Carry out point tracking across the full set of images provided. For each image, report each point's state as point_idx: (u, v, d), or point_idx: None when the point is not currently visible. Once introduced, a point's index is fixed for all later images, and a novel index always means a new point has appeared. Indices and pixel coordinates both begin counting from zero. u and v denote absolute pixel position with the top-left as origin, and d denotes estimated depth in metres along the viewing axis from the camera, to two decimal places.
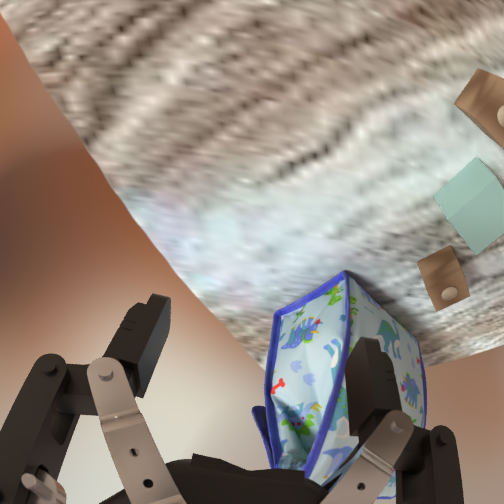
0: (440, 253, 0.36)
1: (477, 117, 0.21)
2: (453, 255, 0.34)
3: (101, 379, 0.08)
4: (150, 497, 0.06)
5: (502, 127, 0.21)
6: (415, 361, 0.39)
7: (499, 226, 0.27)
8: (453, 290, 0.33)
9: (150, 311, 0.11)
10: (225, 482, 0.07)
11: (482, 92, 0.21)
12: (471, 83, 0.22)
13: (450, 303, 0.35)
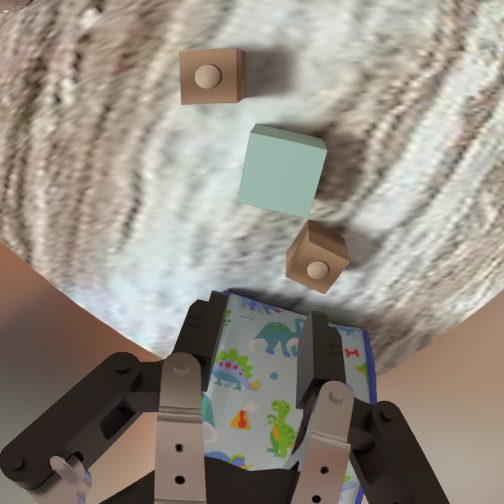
0: (300, 233, 0.37)
1: (182, 102, 0.26)
2: (306, 228, 0.35)
3: (179, 374, 0.09)
4: (175, 493, 0.06)
5: (212, 88, 0.26)
6: None
7: (306, 173, 0.29)
8: (318, 265, 0.34)
9: (214, 307, 0.12)
10: (225, 482, 0.07)
11: None
12: None
13: (332, 279, 0.35)
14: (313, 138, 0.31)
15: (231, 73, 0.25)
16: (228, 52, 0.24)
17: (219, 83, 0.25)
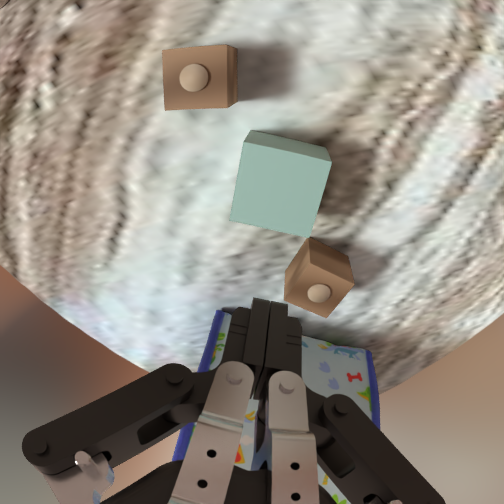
0: (300, 251, 0.34)
1: (165, 108, 0.23)
2: (307, 247, 0.32)
3: (234, 384, 0.09)
4: (193, 495, 0.06)
5: (200, 91, 0.22)
6: (342, 379, 0.34)
7: (307, 188, 0.26)
8: (319, 288, 0.30)
9: (257, 315, 0.12)
10: None
11: None
12: None
13: (335, 303, 0.31)
14: (315, 147, 0.27)
15: (220, 74, 0.21)
16: (218, 50, 0.20)
17: (207, 85, 0.22)
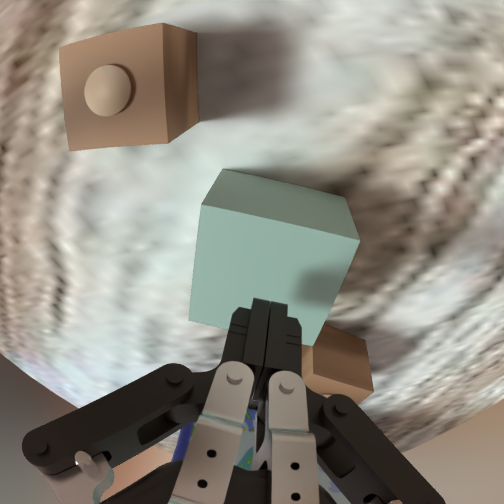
0: None
1: (70, 147, 0.13)
2: None
3: (234, 384, 0.09)
4: (193, 495, 0.06)
5: (119, 114, 0.12)
6: None
7: (315, 281, 0.15)
8: None
9: (258, 315, 0.12)
10: None
11: None
12: None
13: None
14: (329, 199, 0.17)
15: (153, 79, 0.11)
16: (146, 34, 0.10)
17: (130, 103, 0.11)
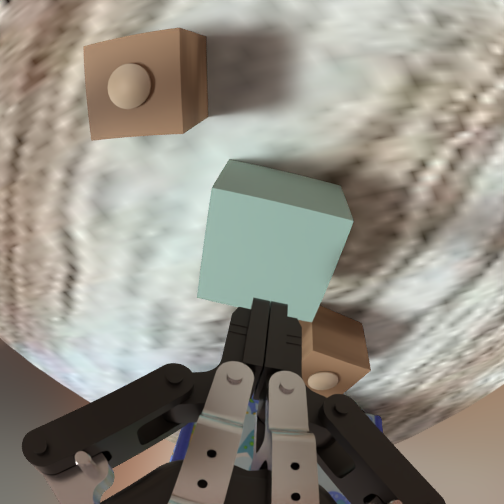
0: None
1: (92, 136, 0.14)
2: None
3: (234, 384, 0.09)
4: (193, 495, 0.06)
5: (139, 108, 0.13)
6: None
7: (313, 258, 0.17)
8: (324, 376, 0.22)
9: (258, 314, 0.12)
10: None
11: None
12: None
13: (343, 389, 0.23)
14: (326, 187, 0.19)
15: (170, 77, 0.12)
16: (165, 37, 0.11)
17: (150, 98, 0.13)
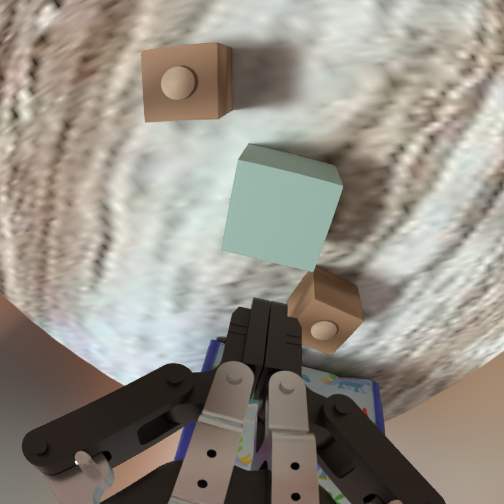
0: (303, 280, 0.30)
1: (146, 119, 0.19)
2: (312, 278, 0.28)
3: (234, 384, 0.09)
4: (193, 495, 0.06)
5: (185, 99, 0.18)
6: None
7: (313, 216, 0.22)
8: (324, 325, 0.26)
9: (257, 314, 0.12)
10: None
11: None
12: None
13: (341, 340, 0.27)
14: (323, 165, 0.24)
15: (210, 78, 0.18)
16: (206, 49, 0.17)
17: (194, 92, 0.18)
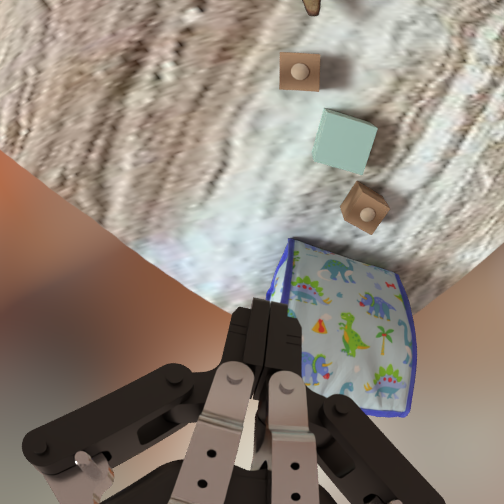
0: (351, 190, 0.48)
1: (280, 88, 0.37)
2: (358, 186, 0.46)
3: (234, 384, 0.09)
4: (193, 495, 0.06)
5: (303, 80, 0.36)
6: (383, 285, 0.48)
7: (363, 143, 0.40)
8: (368, 210, 0.44)
9: (258, 315, 0.12)
10: None
11: None
12: None
13: (377, 222, 0.45)
14: (364, 121, 0.41)
15: (316, 71, 0.35)
16: (314, 57, 0.34)
17: (307, 77, 0.36)
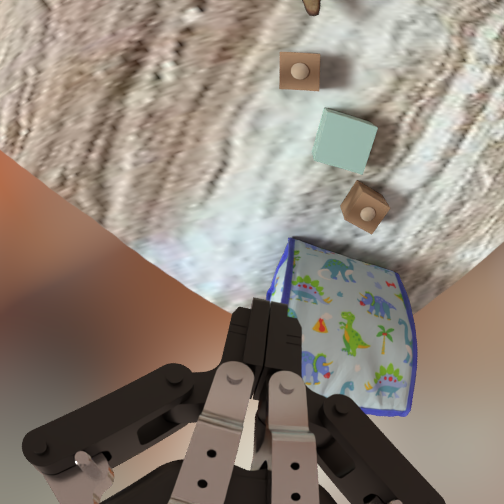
0: (351, 189, 0.48)
1: (280, 87, 0.37)
2: (358, 185, 0.46)
3: (234, 384, 0.09)
4: (193, 495, 0.06)
5: (303, 79, 0.36)
6: (383, 284, 0.48)
7: (363, 142, 0.40)
8: (368, 210, 0.44)
9: (258, 315, 0.12)
10: None
11: None
12: None
13: (377, 222, 0.45)
14: (364, 120, 0.41)
15: (316, 70, 0.35)
16: (314, 56, 0.34)
17: (307, 76, 0.36)
